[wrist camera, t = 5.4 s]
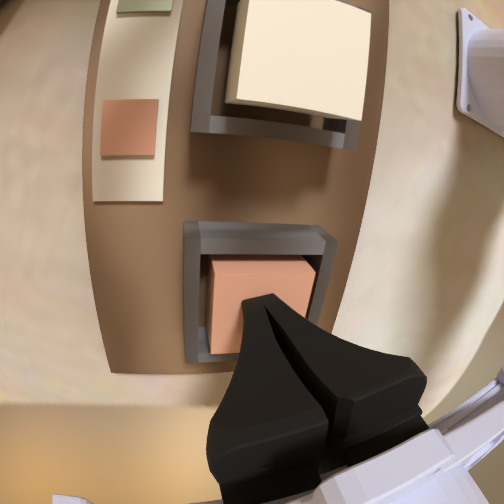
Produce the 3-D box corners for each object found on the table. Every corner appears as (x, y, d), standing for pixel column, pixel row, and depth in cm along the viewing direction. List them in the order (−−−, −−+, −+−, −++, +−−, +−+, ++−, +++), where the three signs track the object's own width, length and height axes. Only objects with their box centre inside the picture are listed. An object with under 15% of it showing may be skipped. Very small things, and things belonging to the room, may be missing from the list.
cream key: (337, 27, 9) (371, 13, 7) (328, 118, 11) (361, 121, 9) (237, 4, 8) (252, -21, 6) (224, 103, 10) (236, 98, 8)
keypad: (373, -102, 6) (398, -118, 4) (316, 351, 19) (334, 383, 17) (167, -143, 3) (169, -169, 1) (112, 360, 16) (107, 398, 13)
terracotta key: (295, 248, 14) (315, 272, 12) (281, 317, 16) (297, 347, 14) (208, 246, 13) (214, 273, 11) (205, 321, 15) (211, 354, 13)
